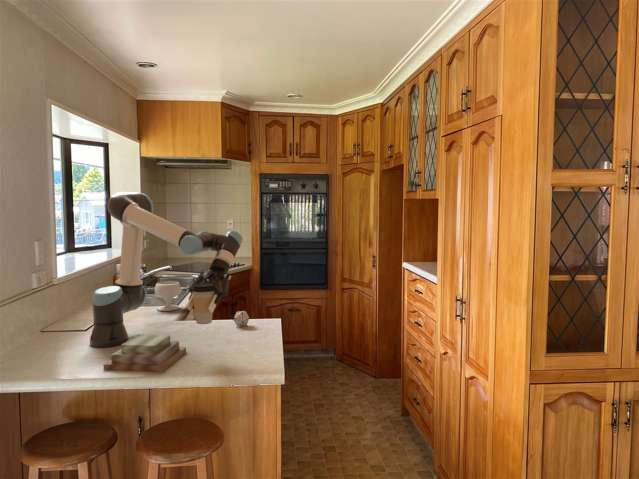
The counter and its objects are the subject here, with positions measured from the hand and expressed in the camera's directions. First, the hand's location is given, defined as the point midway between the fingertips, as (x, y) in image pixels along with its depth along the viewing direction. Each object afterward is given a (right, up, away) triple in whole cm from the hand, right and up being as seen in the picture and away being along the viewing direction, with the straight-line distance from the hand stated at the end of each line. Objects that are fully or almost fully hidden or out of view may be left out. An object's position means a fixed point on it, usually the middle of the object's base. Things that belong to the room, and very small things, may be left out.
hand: (199, 309), depth 179 cm
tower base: (-20, -19, -1) cm, 28 cm away
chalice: (-39, -12, +82) cm, 92 cm away
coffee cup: (+1, -6, +3) cm, 7 cm away
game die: (+9, -16, +46) cm, 49 cm away
